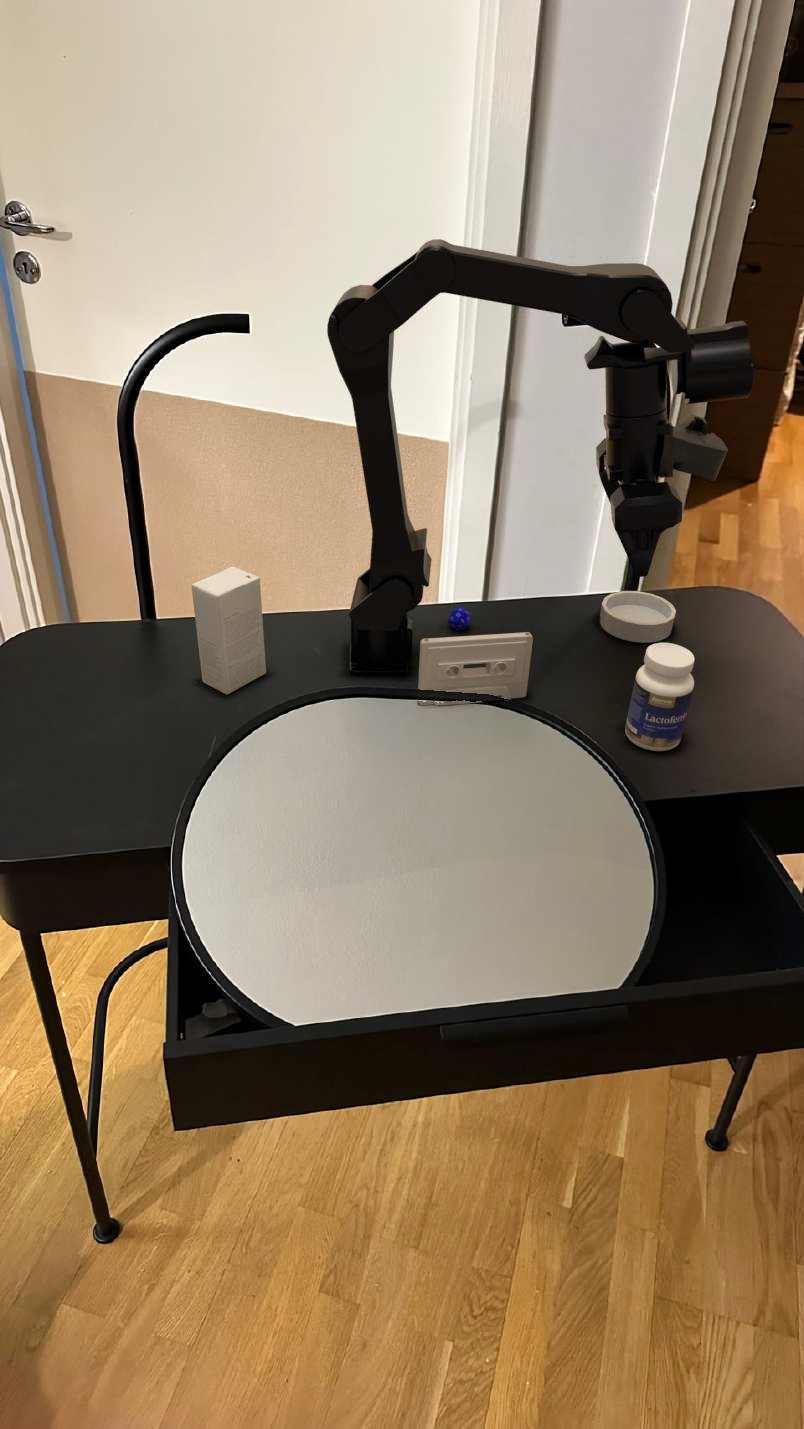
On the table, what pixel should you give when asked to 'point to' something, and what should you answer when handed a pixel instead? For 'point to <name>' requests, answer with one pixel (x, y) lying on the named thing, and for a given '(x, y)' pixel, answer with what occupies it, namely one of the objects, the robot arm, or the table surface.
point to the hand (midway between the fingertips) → (635, 557)
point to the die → (459, 618)
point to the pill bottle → (661, 697)
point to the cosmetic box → (229, 629)
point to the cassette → (463, 650)
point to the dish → (637, 616)
